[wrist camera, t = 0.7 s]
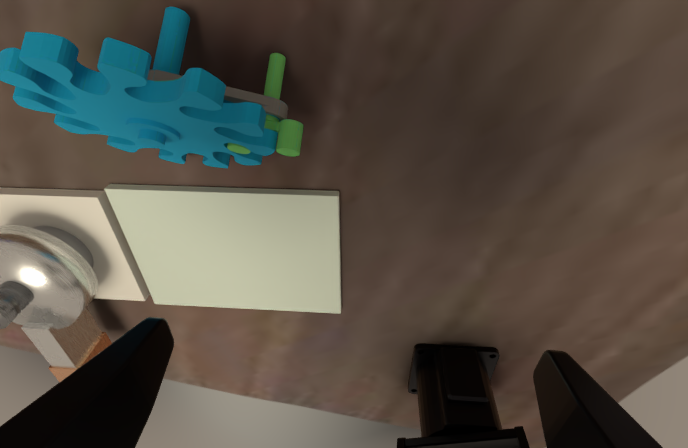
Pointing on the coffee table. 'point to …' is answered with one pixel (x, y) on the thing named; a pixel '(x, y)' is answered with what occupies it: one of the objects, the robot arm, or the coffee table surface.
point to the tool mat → (234, 245)
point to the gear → (152, 98)
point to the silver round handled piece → (49, 297)
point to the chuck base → (80, 233)
